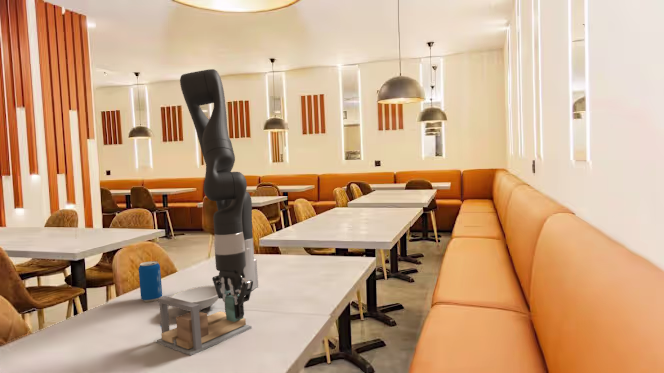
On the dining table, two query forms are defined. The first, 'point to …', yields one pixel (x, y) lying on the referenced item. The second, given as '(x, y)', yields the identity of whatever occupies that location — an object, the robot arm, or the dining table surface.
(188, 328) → the walnut block
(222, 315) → the light wood block
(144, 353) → the dining table surface
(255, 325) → the dining table surface
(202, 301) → the dish
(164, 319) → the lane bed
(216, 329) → the strip
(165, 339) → the far strip
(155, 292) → the beverage can
